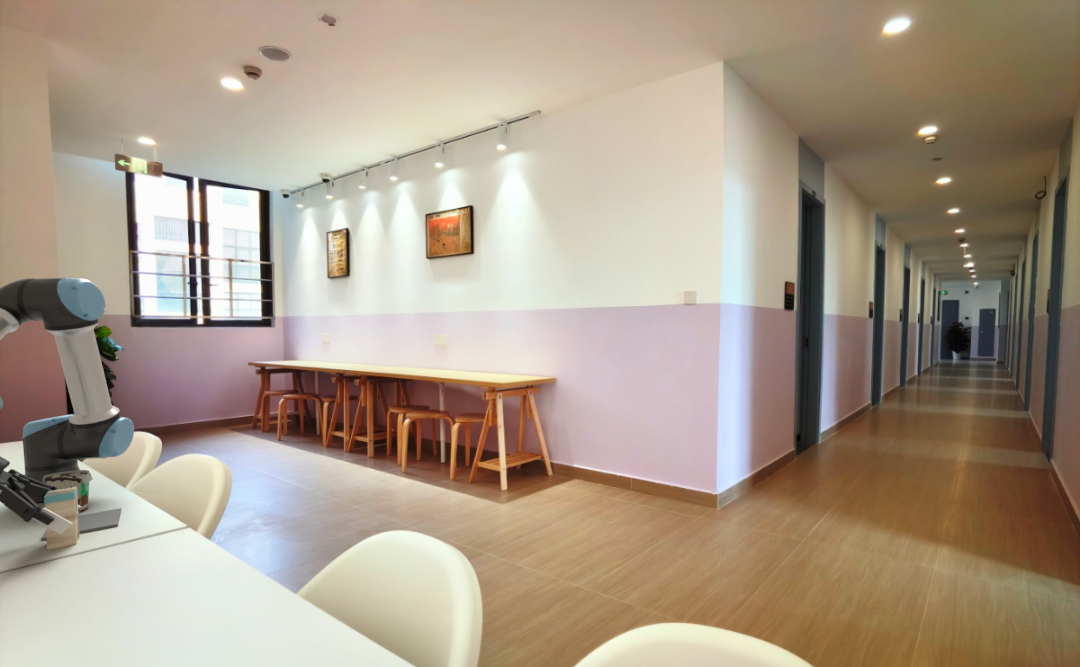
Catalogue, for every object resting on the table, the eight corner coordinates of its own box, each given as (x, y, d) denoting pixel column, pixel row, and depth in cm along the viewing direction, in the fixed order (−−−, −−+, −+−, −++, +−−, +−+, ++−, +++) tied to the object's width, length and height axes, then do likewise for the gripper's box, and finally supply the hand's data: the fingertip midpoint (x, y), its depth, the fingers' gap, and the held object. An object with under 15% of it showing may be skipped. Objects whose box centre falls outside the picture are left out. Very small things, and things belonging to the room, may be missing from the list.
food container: (105, 505, 149) (104, 469, 149) (85, 513, 143) (83, 476, 142) (65, 504, 150) (64, 469, 150) (43, 512, 144) (41, 475, 144)
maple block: (50, 542, 124) (48, 491, 124) (79, 536, 127) (77, 486, 126) (46, 549, 120) (44, 496, 119) (76, 543, 123) (74, 492, 122)
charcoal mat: (51, 522, 136) (51, 520, 136) (121, 510, 144) (121, 508, 144) (41, 540, 125) (41, 538, 125) (117, 526, 133) (117, 523, 133)
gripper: (-24, 468, 124) (65, 517, 133) (-62, 497, 103) (46, 552, 112) (6, 442, 127) (92, 492, 136) (-24, 465, 106) (78, 521, 115)
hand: (71, 519), depth 124 cm, fingers open, 13 cm apart
